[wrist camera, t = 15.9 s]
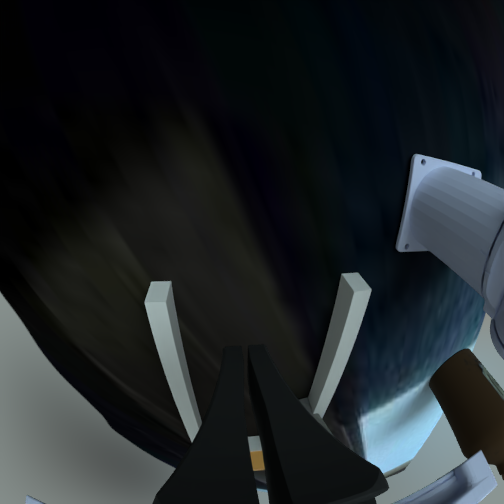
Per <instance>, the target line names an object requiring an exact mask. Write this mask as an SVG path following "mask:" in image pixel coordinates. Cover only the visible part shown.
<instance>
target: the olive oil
mask: <svg viewBox="0 0 504 504" xmlns="http://www.w3.org/2000/svg"><path fill="white" fill-rule="evenodd" d="M429 386H430V388H431V390H432V392H433V393H434V395H435V397H436V399H437V400H438V402H439V404H440V406H441V408H442V410H443V412H444V414H445V416H446V418H447V420H448V422H449V424H450V426H451V428H452V430H453V432H454V435H455V437H456V439H457V441H458V444H459V446H460V448H461V451H462V453H463V455H464V456H465V457H466V458H467V459H469V458H470V457H472V456H473V455H474V454H476V453H477V452H478V451H480V450H481V451H482V453H483V455H484V457H485V459H486V461H487V463H488V464H493V465H496V467H497V469H498V472H499V474H500V475H502V478H503V480H504V391H503V389H502V388H501V387H500V386H499V384H498V383H497V382H496V381H495V379H494V378H493V377H492V376H491V375H490V373H489V372H488V371H487V370H486V368H485V367H484V366H483V365H482V364H481V362H480V361H479V360H478V359H477V358H476V356H475V355H474V354H473V353H472V352H471V350H469V349H463V350H461V351H459V352H458V353H456V354H455V355H453V356H452V357H451V358H449V359H448V360H447V361H446V362H445V363H444V364H443V365H442V366H441V367H440V368H439V369H438V370H437V371H436V372H435V374H434V375H433V377H432V378H431V380H430V383H429Z"/></svg>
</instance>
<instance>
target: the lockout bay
mask: <svg viewBox="0 0 504 504" xmlns="http://www.w3.org/2000/svg"><path fill="white" fill-rule="evenodd" d="M370 294H371V288H370V287H369V286H368V285H367V283H366V282H365V281H364V280H363V278H362V277H361V276H360V275H359V273H345V274H341V279H340V283H339V288H338V292H337V297H336V301H335V305H334V309H333V314H332V318H331V321H330V325H329V329H328V333H327V337H326V340H325V344H324V348H323V351H322V355H321V358H320V361H319V365H318V368H317V371H316V375H315V378H314V381H313V384H312V387H311V390H310V393H309V396H308V399H309V402H310V405H311V408H312V411H313V414H316V413H318V414H319V415H320V417H321V418H323V416H324V414H325V411H326V409H327V407H328V405H329V403H330V401H331V399H332V396H333V394H334V392H335V390H336V387H337V385H338V383H339V380H340V378H341V376H342V373H343V371H344V368H345V366H346V363H347V361H348V358H349V356H350V353H351V350H352V348H353V345H354V342H355V340H356V337H357V334H358V331H359V328H360V325H361V322H362V319H363V316H364V313H365V310H366V307H367V304H368V300H369V297H370ZM145 306H146V310H147V314H148V318H149V322H150V326H151V329H152V333H153V336H154V340H155V343H156V347H157V350H158V353H159V356H160V360H161V363H162V366H163V369H164V372H165V375H166V378H167V381H168V384H169V386H170V389H171V392H172V395H173V397H174V400H175V403H176V405H177V408H178V410H179V413H180V416H181V418H182V420H183V423H184V425H185V428H186V430H187V432H188V435H189V437H190V439H191V442H193V440H194V438H195V436H196V434H197V432H198V430H199V428H200V426H201V424H202V421H201V417H200V414H199V410H198V407H197V403H196V399H195V395H194V392H193V388H192V384H191V380H190V376H189V371H188V367H187V363H186V358H185V354H184V349H183V345H182V340H181V335H180V330H179V325H178V320H177V314H176V309H175V303H174V297H173V291H172V285H171V281H163V282H151V284H150V287H149V290H148V293H147V296H146V299H145ZM248 442H249V448H250V454H251V460H252V466H253V471H257V470H265V467H264V460H263V453H262V447H261V442H260V438H259V436H251V437H248Z"/></svg>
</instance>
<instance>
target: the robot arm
mask: <svg viewBox="0 0 504 504" xmlns="http://www.w3.org/2000/svg"><path fill="white" fill-rule="evenodd" d="M422 160H423V162H422V164H421V161H422ZM406 244H407V245H406ZM405 245H406V247H405ZM396 249H397V250H398V251H399V252H413V251H430V252H431V253H433V254H434V255H435V256H436V257H438V258H439V259H440V260H441V261H442V262H444V263H445V264H446V265H447V266H448V267H450V268H451V269H452V270H453V271H454V272H455V273H457V274H458V275H459V276H460V277H461V278H462V279H463V280H465V281H466V282H467V283H468V284H469V285H470V286H471V287H472V288H473V289H474V290H476V291H477V292H478V293H479V294H480V295H481V296H482V297H483V298H484V299H485V304H484V308H483V310H484V311H485V312H486V313H487V314H488V315H489V316H490V317H491V318H492V320H491V325H490V334H491V339H492V342H493V344H494V346H495V348H496V350H497V352H498V353H499V355H500V356H501V357H502V358H503V359H504V189H502V188H499V187H497V186H495V185H493V184H491V183H488V182H486V181H484V180H481V172H480V171H479V170H476V169H472V168H469V167H466V166H462V165H459V164H455V163H452V162H448V161H444V160H440V159H436V158H432V157H428V156H423V155H419V154H415V155H413V157H412V160H411V167H410V175H409V181H408V188H407V194H406V199H405V205H404V210H403V215H402V220H401V224H400V229H399V233H398V238H397V242H396ZM248 385H249V394H250V400H251V405H252V409H253V413H254V417H255V422H256V426H257V430H258V434H259V438H260V442H261V447H262V453H263V460H264V467H265V475H266V482H267V489H268V496H269V504H376V500H375V497H376V496H378V495H380V494H382V493H384V492H385V491H387V490H388V488H389V486H388V483H387V480H386V479H385V477H384V475H383V473H382V472H381V470H380V469H379V468H378V467H377V466H375V465H373V464H371V463H370V462H368V461H366V460H365V459H363V458H362V457H360V456H359V455H357V454H356V453H354V452H353V451H352V450H350V449H349V448H347V447H346V446H345V445H344V444H342V443H341V442H340V441H339V440H338V439H336V438H335V437H334V436H333V435H332V434H330V433H329V432H328V431H327V430H326V429H325V428H324V427H323V426H322V425H321V424H320V423H319V422H318V421H317V420H316V419H315V418H314V417H313V416H312V415H311V414H310V413H309V412H308V411H307V409H306V408H305V407H304V406H303V405H302V403H301V402H300V401H299V400H298V398H297V397H296V396H295V395H294V393H293V392H292V390H291V389H290V388H289V386H288V385H287V383H286V382H285V380H284V379H283V377H282V376H281V374H280V372H279V371H278V369H277V367H276V366H275V364H274V362H273V360H272V358H271V356H270V354H269V352H268V350H267V348H266V346H265V345H249V346H248ZM496 486H497V482H496V480H495V478H494V475H493V473H492V471H491V469H490V467H489V465H488V463H487V461H486V459H485V457H484V455H483V453H482V451H481V450H480V451H478V452H477V453H476V454H474V455H473V456H472V457H470V458H469V459H468V460H466V461H465V462H463V463H462V464H461V465H459V466H458V467H456V468H455V469H453V470H452V471H450V472H449V473H447V474H446V475H444V476H442V477H441V478H439V479H437V480H436V481H435V482H433V483H431V484H430V485H428V486H426V487H424V488H422V489H421V490H419V491H417V492H415V493H413V494H411V495H409V496H407V497H405V498H403V499H401V500H399V501H397V502H395V503H393V504H478V503H479V502H480V501H481V500H482V499H483V498H484V497H485V496H487V494H489V493H490V492H491V491H492V490H493V489H494V488H495V487H496ZM26 504H45V503H43V502H41V501H39V500H37V499H35V498H33V497H31V496H29V495H27V496H26ZM153 504H259V499H258V494H257V488H256V483H255V478H254V472H253V466H252V460H251V454H250V448H249V442H248V435H247V428H246V421H245V413H244V360H243V354H242V348H241V346H231V347H225V348H223V358H222V364H221V369H220V374H219V378H218V381H217V384H216V388H215V391H214V394H213V397H212V400H211V402H210V405H209V408H208V410H207V413H206V415H205V417H204V420H203V422H202V424H201V426H200V428H199V430H198V432H197V434H196V436H195V438H194V440H193V442H192V444H191V446H190V447H189V449H188V451H187V452H186V454H185V456H184V457H183V459H182V460H181V462H180V463H179V465H178V466H177V468H176V469H175V471H174V473H173V474H172V475H171V476H170V478H169V479H168V480H167V481H166V483H165V484H164V485H163V487H162V488H161V489H160V490H159V491H158V493H157V494H156V496H155V499H154V501H153Z"/></svg>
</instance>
